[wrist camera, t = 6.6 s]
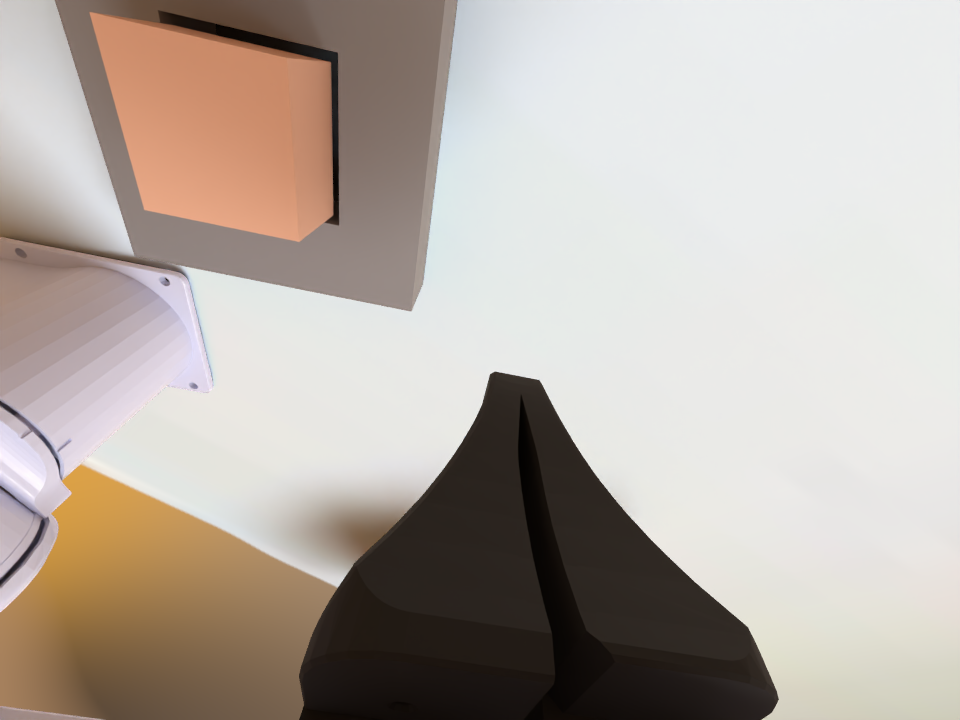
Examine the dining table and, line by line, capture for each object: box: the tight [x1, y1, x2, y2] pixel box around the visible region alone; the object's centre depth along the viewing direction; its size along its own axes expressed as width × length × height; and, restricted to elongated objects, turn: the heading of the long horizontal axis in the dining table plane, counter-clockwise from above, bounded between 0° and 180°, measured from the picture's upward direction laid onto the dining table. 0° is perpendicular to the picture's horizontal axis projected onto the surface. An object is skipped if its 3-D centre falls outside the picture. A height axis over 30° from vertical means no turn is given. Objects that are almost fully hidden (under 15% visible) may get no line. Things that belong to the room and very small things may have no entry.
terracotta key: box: [89, 12, 333, 242], centre depth 13 cm, size 5×5×3 cm
